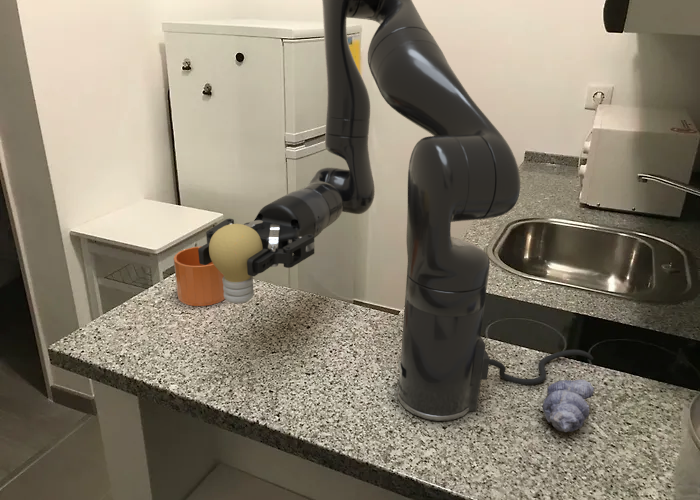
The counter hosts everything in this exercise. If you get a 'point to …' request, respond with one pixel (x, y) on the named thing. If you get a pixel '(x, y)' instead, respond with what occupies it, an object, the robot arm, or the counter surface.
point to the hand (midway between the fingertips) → (225, 262)
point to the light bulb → (235, 259)
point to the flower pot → (197, 279)
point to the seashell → (567, 404)
